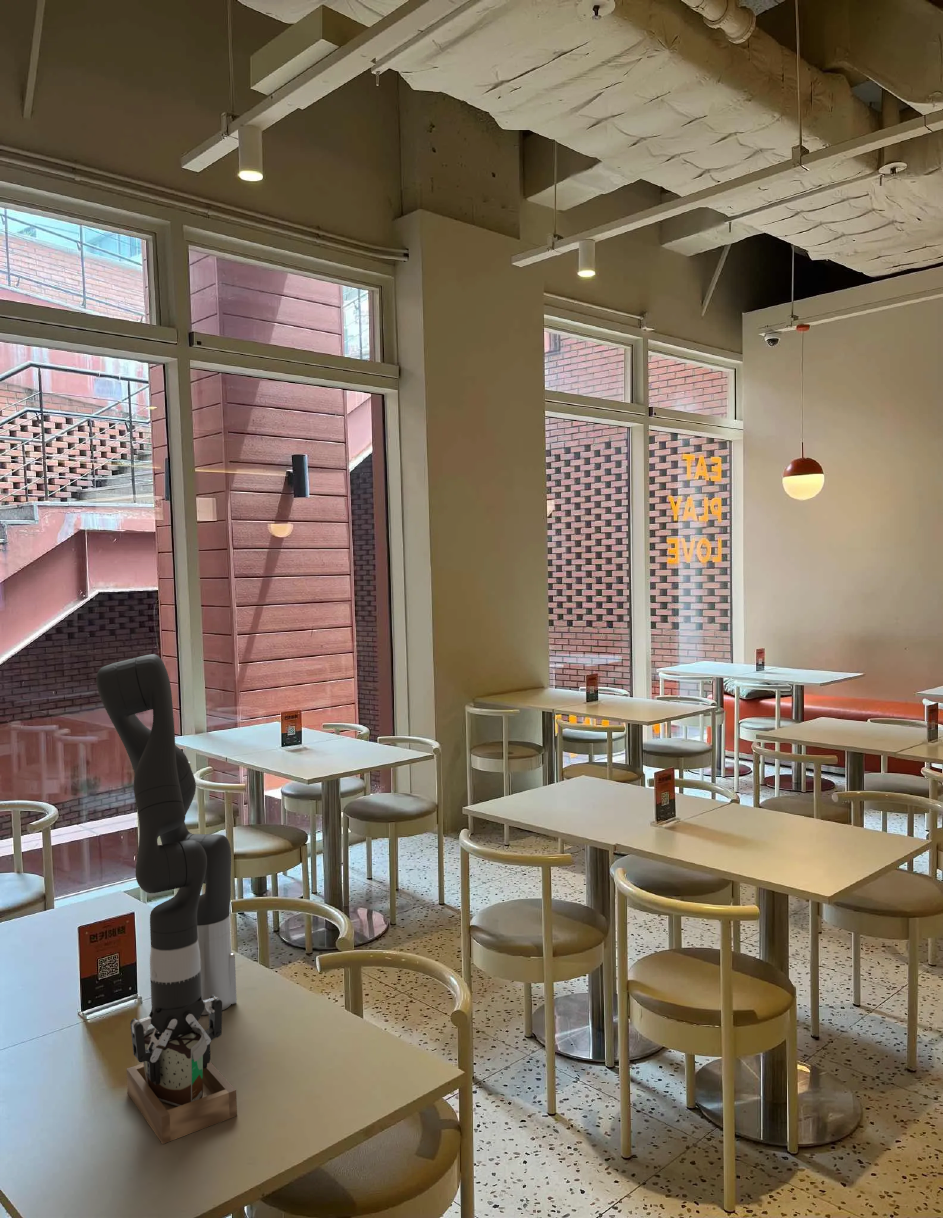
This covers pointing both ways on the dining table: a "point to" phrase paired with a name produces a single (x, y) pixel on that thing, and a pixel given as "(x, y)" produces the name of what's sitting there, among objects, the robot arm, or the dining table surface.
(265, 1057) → the dining table surface
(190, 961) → the robot arm
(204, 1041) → the food container
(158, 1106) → the wooden box
